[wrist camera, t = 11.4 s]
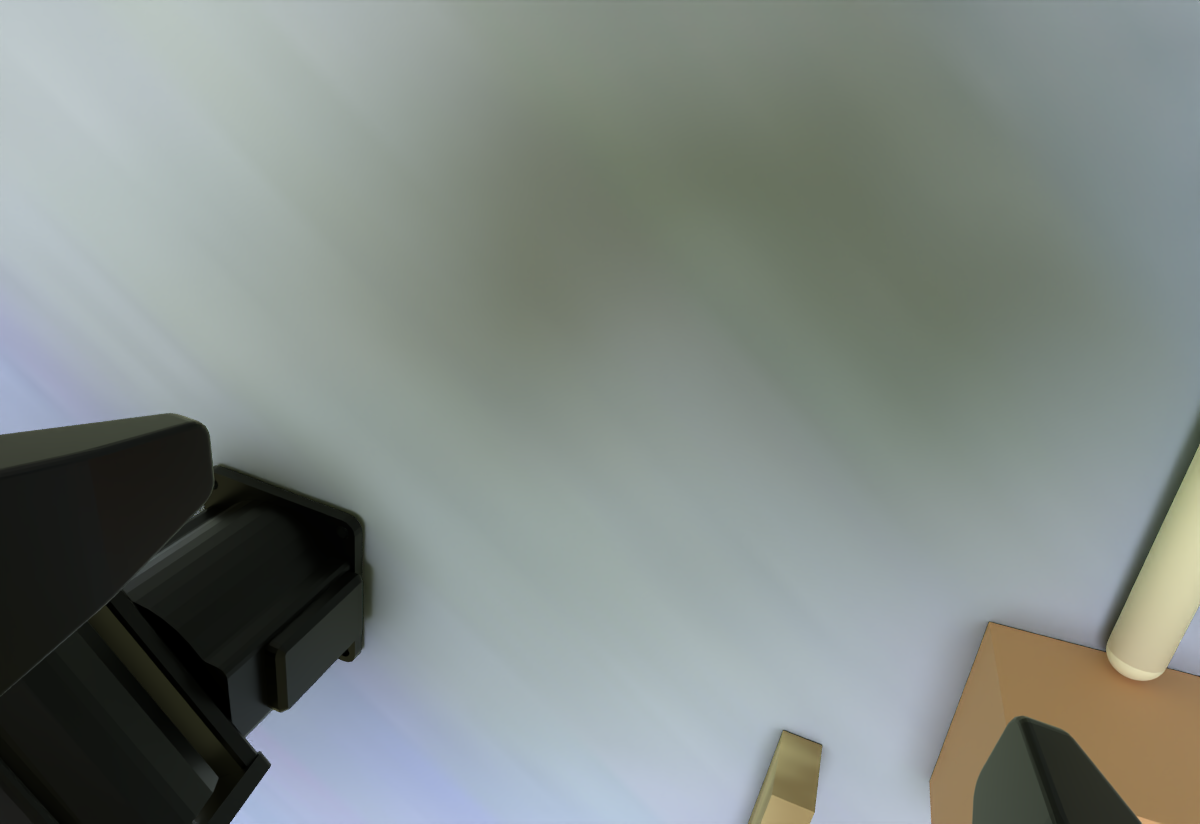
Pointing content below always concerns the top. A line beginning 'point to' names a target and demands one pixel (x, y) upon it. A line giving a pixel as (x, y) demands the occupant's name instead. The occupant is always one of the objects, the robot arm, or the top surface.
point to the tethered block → (1098, 689)
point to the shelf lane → (789, 783)
